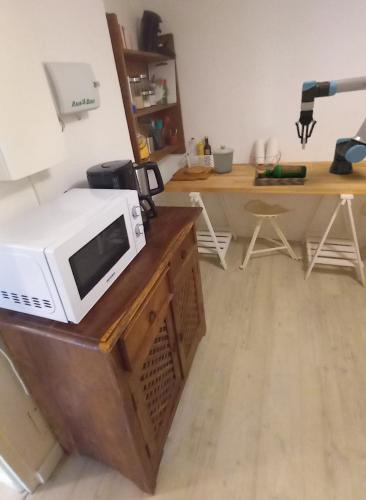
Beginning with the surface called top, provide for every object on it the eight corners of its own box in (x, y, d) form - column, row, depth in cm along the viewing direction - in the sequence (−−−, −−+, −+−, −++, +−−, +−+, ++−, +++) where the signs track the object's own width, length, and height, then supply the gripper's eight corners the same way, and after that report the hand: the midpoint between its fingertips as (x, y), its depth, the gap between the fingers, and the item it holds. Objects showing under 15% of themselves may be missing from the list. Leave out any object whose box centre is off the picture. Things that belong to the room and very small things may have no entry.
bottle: (307, 164, 194) (264, 165, 201) (306, 180, 197) (263, 181, 204) (305, 164, 204) (263, 165, 211) (303, 179, 207) (263, 180, 214)
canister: (239, 170, 240) (239, 143, 229) (224, 175, 230) (224, 148, 219) (222, 167, 252) (221, 141, 241) (208, 172, 242) (206, 146, 231)
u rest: (300, 176, 210) (301, 168, 207) (303, 184, 196) (304, 175, 193) (255, 178, 218) (255, 170, 215) (254, 185, 204) (254, 177, 201)
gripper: (317, 107, 182) (313, 146, 194) (295, 109, 185) (292, 148, 197) (319, 109, 176) (314, 149, 188) (296, 111, 179) (293, 150, 191)
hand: (303, 148), depth 192 cm, fingers closed
